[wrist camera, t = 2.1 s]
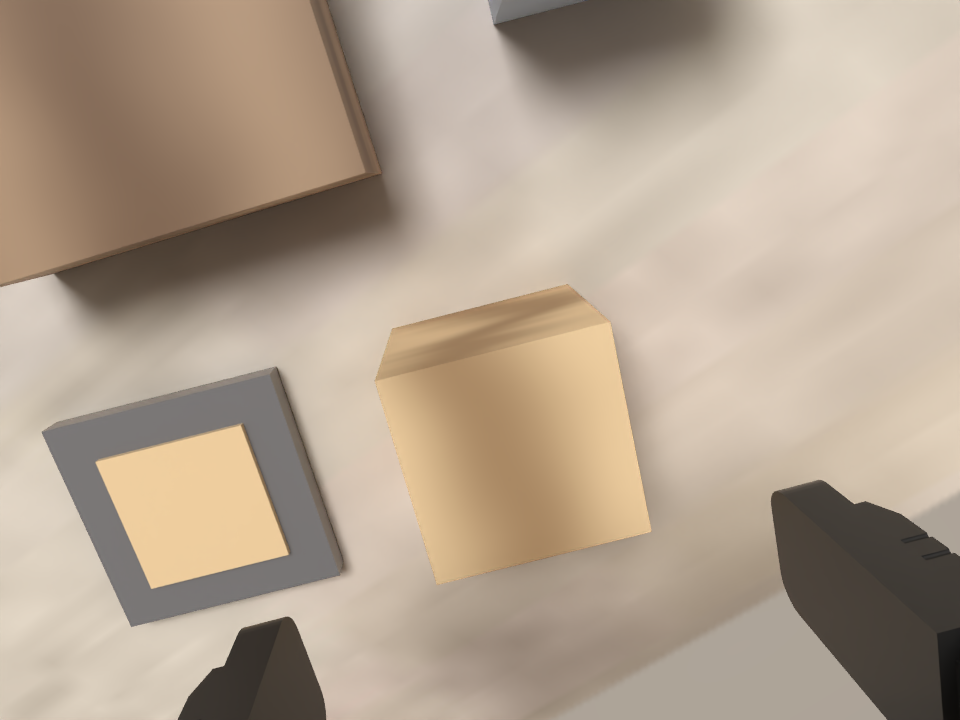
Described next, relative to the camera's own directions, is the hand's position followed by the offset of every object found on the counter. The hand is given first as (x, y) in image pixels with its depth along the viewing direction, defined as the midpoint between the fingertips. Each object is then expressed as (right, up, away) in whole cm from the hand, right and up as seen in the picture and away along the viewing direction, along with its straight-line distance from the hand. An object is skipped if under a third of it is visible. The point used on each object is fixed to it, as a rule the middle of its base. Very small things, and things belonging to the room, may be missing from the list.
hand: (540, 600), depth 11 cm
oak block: (0, +3, +10) cm, 11 cm away
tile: (-10, 0, +11) cm, 14 cm away
